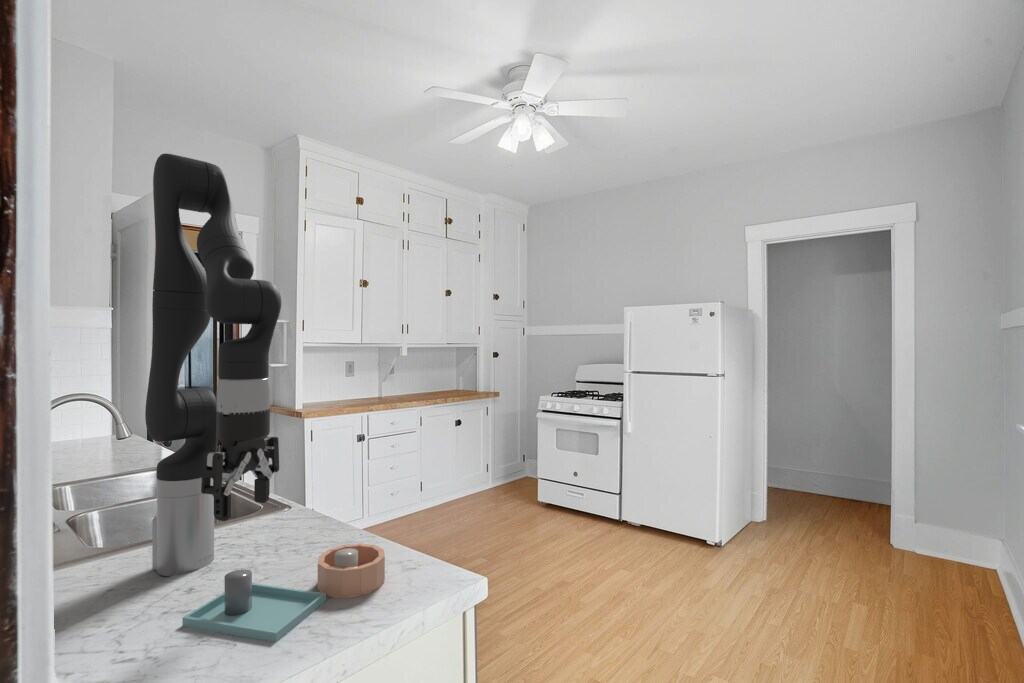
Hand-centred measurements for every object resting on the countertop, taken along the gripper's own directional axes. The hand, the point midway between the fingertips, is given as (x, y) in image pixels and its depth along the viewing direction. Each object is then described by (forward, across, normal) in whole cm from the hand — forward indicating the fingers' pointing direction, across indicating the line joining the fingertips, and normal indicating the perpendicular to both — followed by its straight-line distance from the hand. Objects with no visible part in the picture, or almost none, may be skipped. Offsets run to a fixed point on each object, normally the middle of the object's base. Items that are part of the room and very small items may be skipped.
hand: (243, 510), depth 85 cm
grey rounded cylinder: (+15, +1, 0) cm, 15 cm away
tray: (+16, +1, +3) cm, 16 cm away
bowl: (+16, -12, +12) cm, 23 cm away
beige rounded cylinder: (+15, -10, +12) cm, 22 cm away
